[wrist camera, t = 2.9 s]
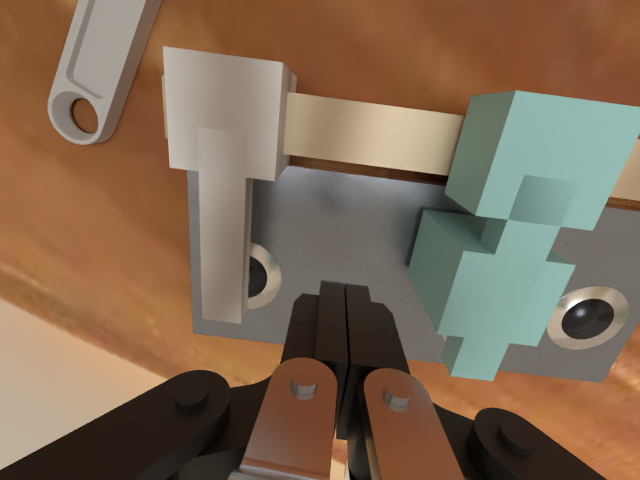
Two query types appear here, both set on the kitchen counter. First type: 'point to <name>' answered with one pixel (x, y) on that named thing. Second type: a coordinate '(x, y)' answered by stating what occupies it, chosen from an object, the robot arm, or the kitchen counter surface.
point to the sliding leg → (514, 219)
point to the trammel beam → (284, 150)
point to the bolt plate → (394, 259)
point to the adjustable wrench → (100, 63)
